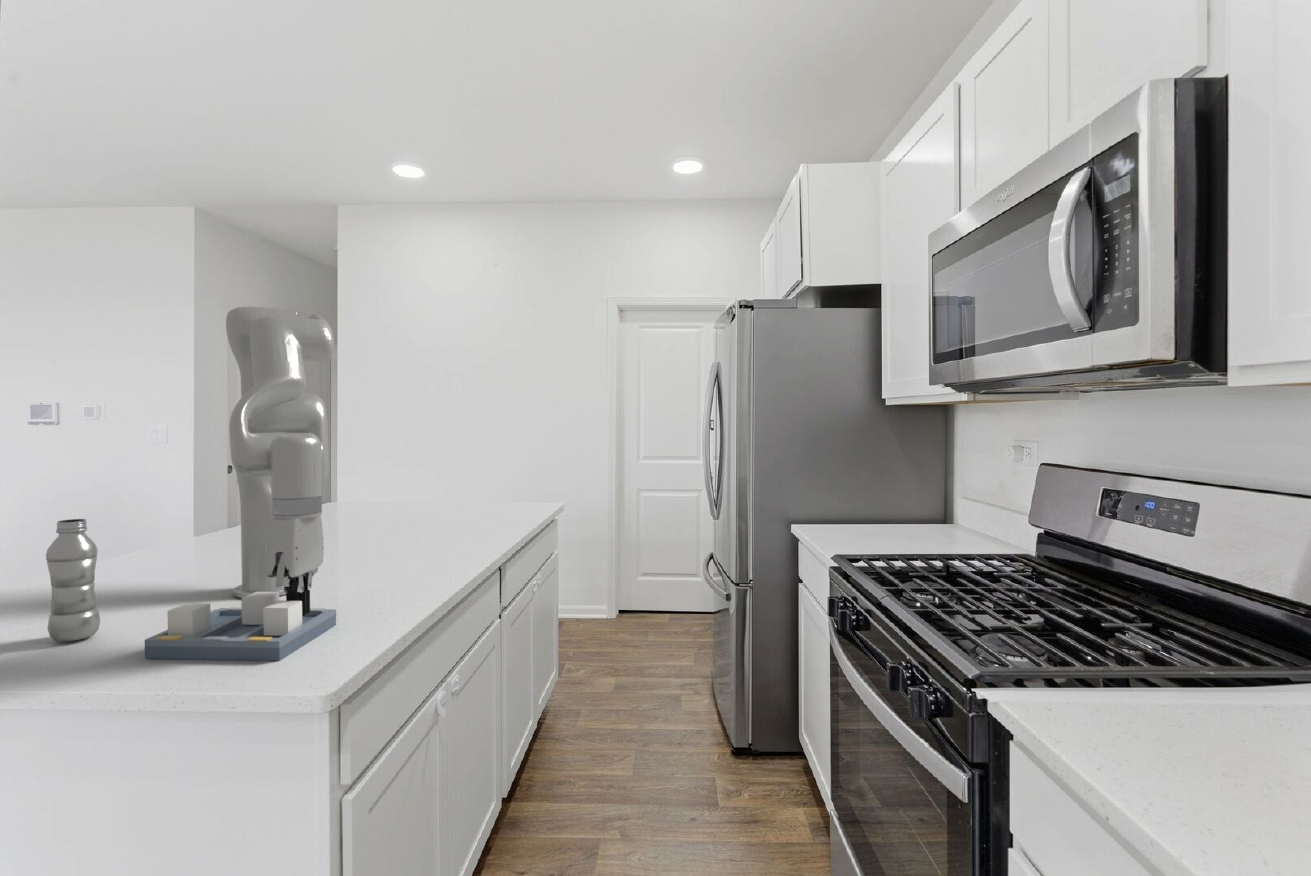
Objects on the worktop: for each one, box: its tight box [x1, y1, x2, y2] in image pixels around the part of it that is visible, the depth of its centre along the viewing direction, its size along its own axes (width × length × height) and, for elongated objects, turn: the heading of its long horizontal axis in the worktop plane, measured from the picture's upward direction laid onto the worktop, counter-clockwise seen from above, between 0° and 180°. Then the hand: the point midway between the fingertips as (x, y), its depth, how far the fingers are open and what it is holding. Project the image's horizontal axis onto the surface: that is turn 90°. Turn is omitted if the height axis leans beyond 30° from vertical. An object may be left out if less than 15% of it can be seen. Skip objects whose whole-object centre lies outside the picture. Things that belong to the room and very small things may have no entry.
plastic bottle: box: [45, 518, 101, 642], centre depth 107 cm, size 6×7×20 cm
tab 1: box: [167, 602, 211, 637], centre depth 103 cm, size 4×4×4 cm
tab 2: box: [241, 592, 280, 625], centre depth 111 cm, size 4×4×4 cm
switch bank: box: [144, 606, 337, 662], centre depth 107 cm, size 17×21×3 cm
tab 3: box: [263, 600, 302, 636], centre depth 105 cm, size 4×4×4 cm
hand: (298, 613), depth 110 cm, fingers closed
